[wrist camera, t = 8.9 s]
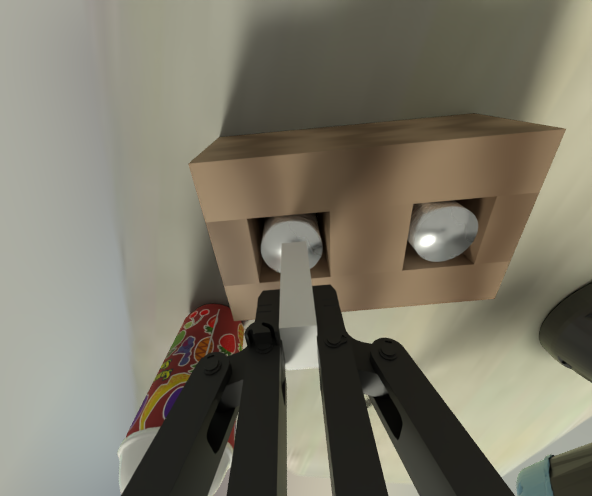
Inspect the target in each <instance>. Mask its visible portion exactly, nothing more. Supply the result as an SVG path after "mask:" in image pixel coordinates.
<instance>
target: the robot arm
mask: <svg viewBox="0 0 592 496" xmlns="http://www.w3.org/2000/svg"><path fill="white" fill-rule="evenodd" d="M244 335H245V339H246V343H247V347H246V348H245V349H243V350H242V351H240V352H238V353H235V354H232V355H229V356H227V355H226V354H224V353H222V352H212V353H209V354H207V355H205V356H204V357H203V358H201V359H200V361H199V362H198V363H197V365H196V366H195V368H194V370H193V371H192V373H191V375H190V377H189V378H188V380H187V382H186V384H185V385H184V387H183V389H182V391H181V392H180V394H179V396H178V397H177V399H176V401H175V403H174V404H173V406H172V408H171V410H170V411H169V413H168V415H167V417H166V418H165V420H164V422H163V423H162V425H161V427H160V429H159V430H158V432H157V434H156V436H155V437H154V439H153V441H152V443H151V444H150V446H149V448H148V449H147V451H146V453H145V455H144V456H143V458H142V460H141V462H140V463H139V465H138V467H137V469H136V470H135V472H134V474H133V475H132V477H131V479H130V481H129V482H128V484H127V486H126V488H125V489H124V491H123V493H122V495H121V496H208V493H209V491H210V488H211V485H212V483H213V480H214V477H215V475H216V472H217V469H218V466H219V464H220V461H221V458H222V456H223V453H224V450H225V447H226V445H227V442H228V439H229V437H230V434H231V431H232V428H233V426H234V423H235V420H236V418H237V415H238V420H237V427H236V434H235V441H234V448H233V455H232V462H231V470H230V477H229V483H228V490H227V496H287V384H286V377H285V368H286V370H298V369H311V368H319V375H320V391H321V396H322V405H323V414H324V423H325V432H326V441H327V451H328V460H329V469H330V478H331V487H332V496H388V492H387V489H386V484H385V480H384V476H383V472H382V468H381V464H380V460H379V456H378V451H377V447H376V443H375V439H374V435H373V431H372V427H371V423H370V419H369V415H368V411H367V407H366V402H365V398H364V394H366V395H368V396H369V398H370V400H371V402H372V404H373V406H374V408H375V410H376V412H377V414H378V416H379V418H380V420H381V422H382V424H383V425H384V427H385V429H386V431H387V433H388V435H389V437H390V439H391V441H392V443H393V445H394V447H395V449H396V451H397V453H398V455H399V457H400V459H401V460H402V462H403V464H404V466H405V468H406V470H407V472H408V474H409V476H410V478H411V480H412V482H413V484H414V486H415V487H416V489H417V491H418V493H419V495H420V496H515V495H514V494H513V492H512V491H511V490H510V488H509V487H508V486H507V484H506V483H505V482H504V481H503V479H502V478H501V476H500V475H499V474H498V472H497V471H496V470H495V468H494V467H493V466H492V464H491V463H490V462H489V460H488V459H487V458H486V456H485V455H484V454H483V452H482V451H481V450H480V448H479V447H478V446H477V444H476V443H475V442H474V440H473V439H472V438H471V436H470V435H469V434H468V432H467V431H466V430H465V428H464V427H463V426H462V424H461V423H460V422H459V420H458V419H457V418H456V416H455V415H454V414H453V412H452V411H451V410H450V408H449V407H448V406H447V404H446V403H445V402H444V400H443V399H442V398H441V396H440V395H439V394H438V392H437V391H436V390H435V388H434V387H433V386H432V384H431V383H430V382H429V380H428V379H427V378H426V376H425V375H424V374H423V372H422V371H421V370H420V368H419V367H418V366H417V364H416V363H415V362H414V360H413V359H412V358H411V356H410V355H409V354H408V352H407V351H406V350H405V348H404V347H403V346H402V345H401V344H400V343H399V342H397V341H395V340H393V339H389V338H379V339H377V340H375V341H374V342H373V343H372V344H369V343H364V342H360V341H357V340H355V339H353V338H352V337H351V336H350V335H349V334H348V333H347V332H346V329H345V326H344V322H343V318H342V314H341V309H340V306H339V301H338V297H337V293H336V290H335V289H334V288H333V287H332V286H331V284H329V285H317V286H312V282H311V274H310V266H309V258H308V251H307V243H306V241H304V242H292V243H282V245H281V277H280V289H276V290H263V291H262V293H261V294H260V296H259V297H258V302H257V310H256V317H255V322H254V323H252V324H251V325H250V326H249V327H248V328H247V329H246V331H245V333H244ZM539 340H540V343H541V345H542V346H543V347H544V348H545V349H546V350H547V351H548V353H549V354H550V355H551V356H552V357H553V358H554V359H555V360H557V361H558V362H559V363H560V364H562V365H564V366H565V367H567V368H570V369H572V370H574V371H575V372H576V373H578V374H579V375H581V376H582V377H584V378H585V379H587V380H588V381H590V382H591V383H592V283H591V284H589V285H587V286H585V287H583V288H582V289H580V290H578V291H577V292H575V293H574V294H572V295H571V296H569V297H568V298H566V299H565V300H564V301H563V302H561V303H560V304H559V305H558V306H557V307H556V308H555V309H554V310H553V311H552V312H551V313H550V314H549V315H548V317H547V318H546V319H545V321H544V323H543V325H542V327H541V329H540V333H539ZM238 412H239V413H238ZM516 483H517V484H516V485H517V487H516V488H517V495H518V496H592V443H589V444H587V445H584V446H581V447H578V448H576V449H573V450H570V451H567V452H565V453H562V454H559V455H556V456H554V455H547V456H546V457H545V459H544V460H542V461H540V462H538V463H535V464H533V465H531V466H529V467H527V468H524V469H523V470H522V471H521V472H520V473H519V475H518V477H517V482H516Z"/></svg>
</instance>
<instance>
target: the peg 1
mask: <svg viewBox="0 0 592 496" xmlns="http://www.w3.org/2000/svg"><path fill="white" fill-rule="evenodd" d="M304 241H306V243H307V251H308V258H309V266H310V269H311V268H312V267H314V266H315V265H316V264H317V262H318V261H319V259H320V257H321V255H322V248H323V247H322V241H321V237H320V233H319V228H318V224H317V220H316V216H315V213H305V214H294V215H283V216H272V217H265V221H264V229H263V236H262V243H261V254H262V257H263V259H264V261H265V262H266V264H267V265H268V266H269V267H270V268H272V269H273V270H275V271H277V272H279V273H281V245H282V243H292V242H304Z"/></svg>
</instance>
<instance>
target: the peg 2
mask: <svg viewBox="0 0 592 496" xmlns="http://www.w3.org/2000/svg"><path fill="white" fill-rule="evenodd" d="M477 232H478V221H477V219H476V217H475V215H474V214H473V213H472V212H470V211H469V210H468V209H466V208H465V207H463V206H462V205H460V204H459V203H458V202H456V201H455V200H450V201H439V202H428V203H416V204H413V208H412V214H411V220H410V226H409V232H408V238H407V240H408V242H409V243H410V244H411V245H412V247H413V248H414V249H415V251H416V252H417V253H418V254H419V255H420V256H421V257H422V258H423V259H425V260H428V261H432V262H441V261H446V260H449V259H452V258H454V257H456V256H458V255H460V254H461V253H463V252H464V251H465V250H466V249H467V248H468V247H469V246H470V245H471V244H472V242H473V241H474V239H475V237H476V235H477Z"/></svg>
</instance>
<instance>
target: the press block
mask: <svg viewBox="0 0 592 496" xmlns="http://www.w3.org/2000/svg"><path fill="white" fill-rule="evenodd" d="M565 130H566V129H564V128H558V127H552V126H546V125H540V124H534V123H528V122H523V121H517V120H511V119H505V118H499V117H493V116H487V115H481V114H475V113H473V114H462V115H451V116H441V117H430V118H419V119H409V120H398V121H387V122H376V123H366V124H355V125H344V126H334V127H323V128H312V129H301V130H291V131H280V132H269V133H259V134H248V135H237V136H226V137H219V138H218V139H217V140H215V141H214V142H213V143H212V144H211V145H210V146H208V147H207V148H206V149H205V150H204V151H203V152H201V153H200V154H199V155H198V156H197V157H196V158H195V159H193V160H192V161H191V162H190V163H189V167H190V171H191V174H192V178H193V181H194V185H195V188H196V192H197V195H198V198H199V202H200V205H201V209H202V212H203V216H204V219H205V222H206V226H207V229H208V233H209V236H210V240H211V243H212V247H213V250H214V253H215V257H216V260H217V264H218V267H219V271H220V274H221V278H222V281H223V284H224V288H225V291H226V295H227V298H228V302H229V305H230V309H231V312H232V315H233V319H234V321H242V320H253V319H255V317H256V310H257V302H258V297H259V296H260V294H261V293H262V291H263V290H276V289H280V277H281V273H279V272H277V271H275V270H273V269H272V268H270V267H269V266H268V265H267V264H266V262H265V261H264V259H263V257H262V254H261V243H262V236H263V229H264V221H265V220H264V217H272V216H283V215H294V214H305V213H317V212H318V228H319V233H320V237H321V241H322V247H323V248H322V255H321V257H320V259H319V261H318V262H317V264H316V265H315V266H314V267H312V268H311V269H310V274H311V282H312V286H317V285H329V284H331V286H332V287H333V288H334V289H335V290H336V293H337V297H338V301H339V306H340V309H341V312H346V311H358V310H369V309H381V308H393V307H404V306H416V305H427V304H439V303H451V302H462V301H474V300H485V299H495V296H496V294H497V292H498V289H499V287H500V285H501V282H502V280H503V277H504V275H505V273H506V270H507V268H508V266H509V263H510V261H511V258H512V256H513V254H514V251H515V249H516V247H517V244H518V242H519V239H520V237H521V235H522V232H523V230H524V228H525V225H526V223H527V220H528V218H529V216H530V213H531V211H532V209H533V206H534V204H535V201H536V199H537V197H538V194H539V192H540V190H541V187H542V185H543V183H544V180H545V178H546V175H547V173H548V171H549V168H550V166H551V164H552V161H553V159H554V156H555V154H556V152H557V149H558V147H559V145H560V142H561V140H562V137H563V135H564V133H565ZM450 200H455V201H456V202H458V203H459V204H460V205H462V206H463V207H465V208H466V209H468V210H469V211H470V212H472V213H473V214H474V215H475V217H476V219H477V221H478V232H477V235H476V237H475V239H474V241H473V242H472V244H471V245H470V246H469V247H468V248H467V249H466V250H465V251H464V252H463V253H461V254H460V255H458V256H456V257H454V258H452V259H449V260H446V261H441V262H432V261H428V260H425V259H423V258H422V257H421V256H420V255H419V254H418V253H417V252H416V251H415V249H414V248H413V247H412V245H411V244H410V243H409V242H408V240H407V238H408V232H409V226H410V220H411V214H412V208H413V204H416V203H428V202H439V201H450Z"/></svg>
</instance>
